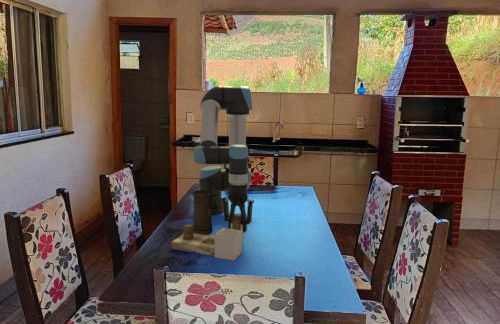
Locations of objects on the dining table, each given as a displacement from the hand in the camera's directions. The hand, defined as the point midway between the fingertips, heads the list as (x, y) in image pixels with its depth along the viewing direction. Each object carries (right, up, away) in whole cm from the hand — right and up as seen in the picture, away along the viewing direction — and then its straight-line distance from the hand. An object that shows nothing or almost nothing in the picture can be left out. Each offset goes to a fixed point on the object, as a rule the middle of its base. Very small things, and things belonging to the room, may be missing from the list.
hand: (237, 238), depth 161 cm
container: (-16, 0, +14) cm, 22 cm away
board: (-15, -3, -4) cm, 16 cm away
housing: (-3, -4, -11) cm, 12 cm away
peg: (0, -2, 0) cm, 2 cm away
